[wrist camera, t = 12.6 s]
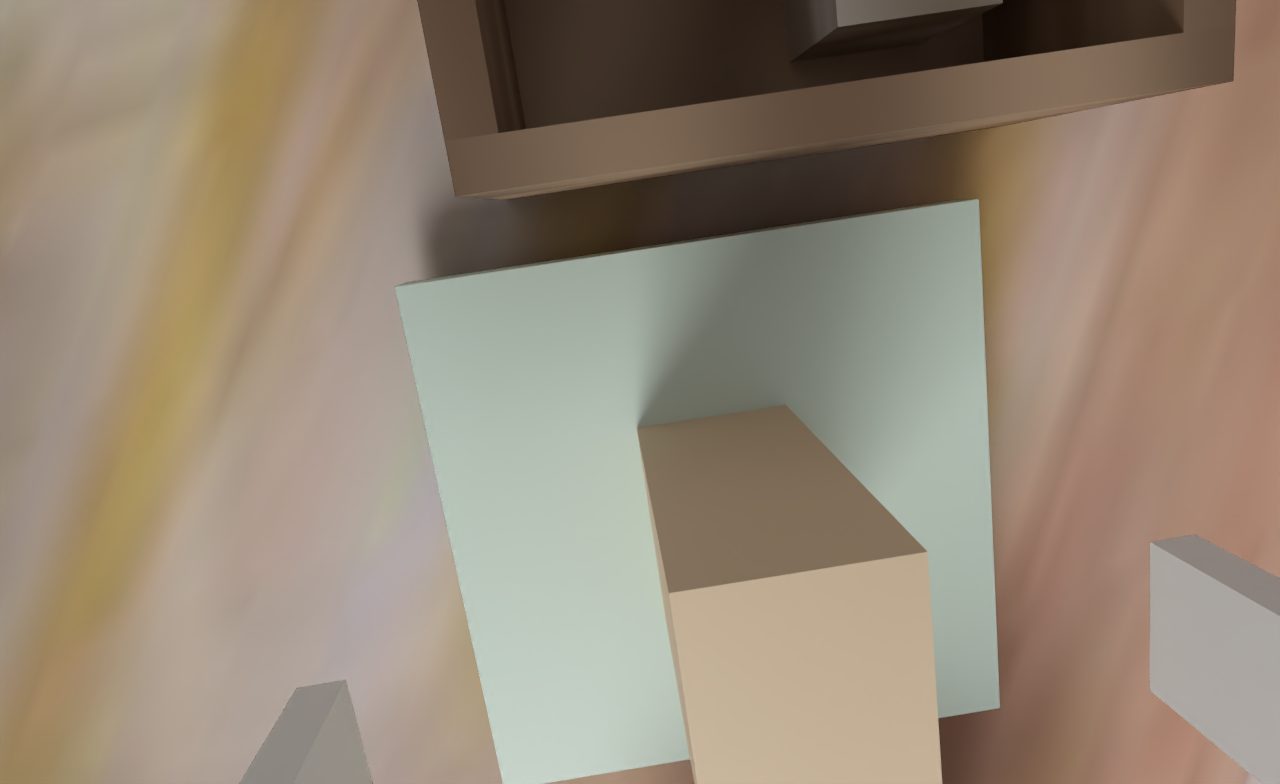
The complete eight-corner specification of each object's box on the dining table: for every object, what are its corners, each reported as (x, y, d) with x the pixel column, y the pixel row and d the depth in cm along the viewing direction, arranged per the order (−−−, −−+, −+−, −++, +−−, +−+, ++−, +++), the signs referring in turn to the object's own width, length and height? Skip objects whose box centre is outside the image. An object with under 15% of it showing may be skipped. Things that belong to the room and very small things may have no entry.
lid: (511, 738, 22) (448, 1153, 12) (414, 278, 19) (230, 354, 9) (964, 664, 22) (1247, 1014, 13) (940, 199, 19) (1288, 194, 10)
